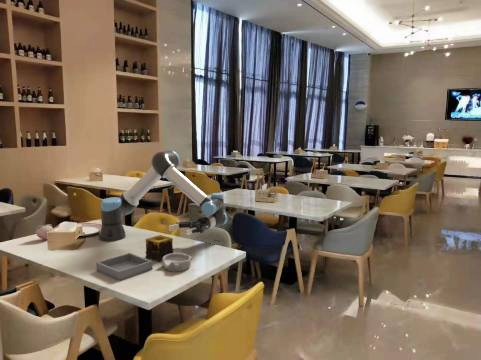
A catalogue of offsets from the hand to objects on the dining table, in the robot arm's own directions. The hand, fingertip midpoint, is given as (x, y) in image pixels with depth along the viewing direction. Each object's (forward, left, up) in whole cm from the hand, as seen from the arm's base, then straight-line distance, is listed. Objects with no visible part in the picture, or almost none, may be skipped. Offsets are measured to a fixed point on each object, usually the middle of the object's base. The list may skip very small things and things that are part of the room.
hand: (177, 230), depth 209 cm
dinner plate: (-74, -14, -12) cm, 76 cm away
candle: (-1, -12, -12) cm, 17 cm away
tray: (+1, -34, -12) cm, 36 cm away
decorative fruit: (-75, -36, -12) cm, 84 cm away
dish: (+16, -15, -12) cm, 25 cm away
